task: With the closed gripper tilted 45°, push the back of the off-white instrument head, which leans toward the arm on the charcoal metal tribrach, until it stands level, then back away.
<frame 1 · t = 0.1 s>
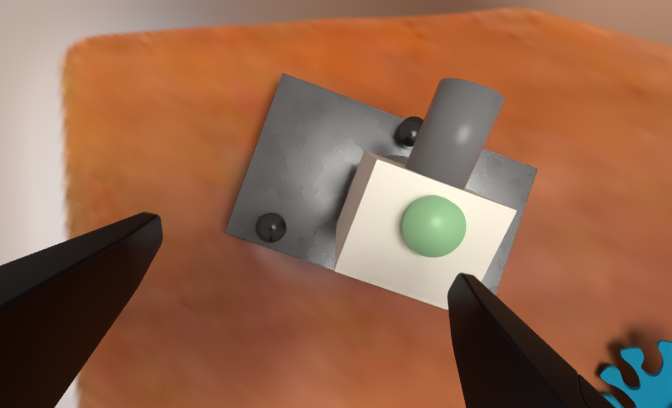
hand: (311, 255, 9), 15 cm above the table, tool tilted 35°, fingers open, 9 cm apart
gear: (632, 390, 26), on the table
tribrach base: (380, 200, 25), on the table
instrument head: (418, 187, 16), point 8 cm above the table, hinge at -14.0°
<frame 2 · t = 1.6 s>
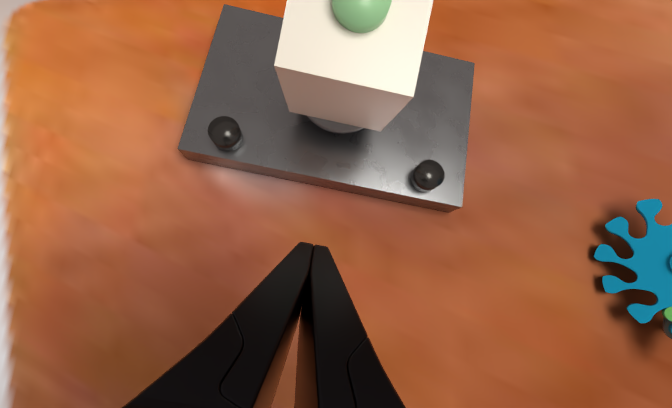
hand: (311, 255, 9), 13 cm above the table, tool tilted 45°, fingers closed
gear: (630, 273, 25), on the table
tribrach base: (336, 115, 25), on the table
instrument head: (354, 29, 17), point 8 cm above the table, hinge at -14.0°
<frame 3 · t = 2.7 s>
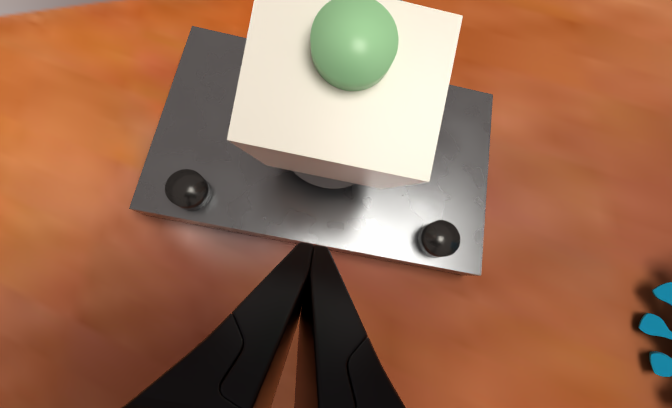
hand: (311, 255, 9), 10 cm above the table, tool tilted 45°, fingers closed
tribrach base: (327, 157, 21), on the table
instrument head: (346, 69, 13), point 8 cm above the table, hinge at -14.0°
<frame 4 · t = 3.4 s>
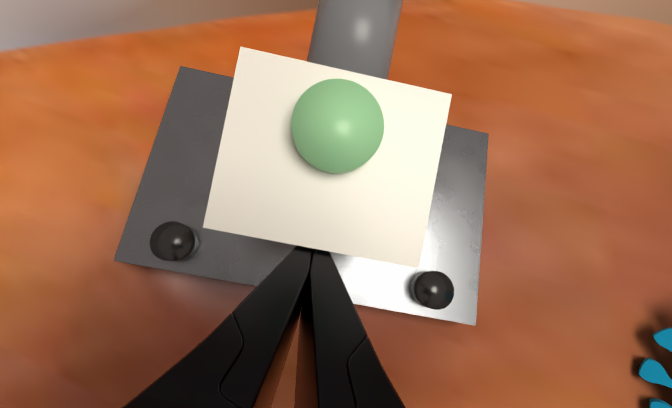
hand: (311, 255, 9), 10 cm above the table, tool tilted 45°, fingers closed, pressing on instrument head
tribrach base: (319, 198, 20), on the table
instrument head: (334, 130, 12), point 8 cm above the table, hinge at -12.1°, touching gripper
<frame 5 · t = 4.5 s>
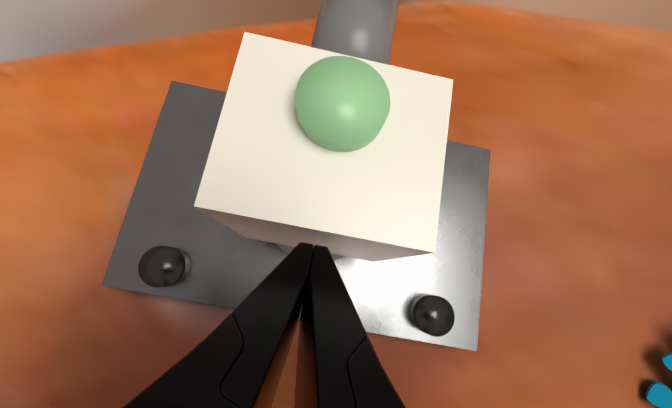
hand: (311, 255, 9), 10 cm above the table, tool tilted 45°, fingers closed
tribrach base: (316, 216, 20), on the table
instrument head: (333, 136, 12), point 8 cm above the table, hinge at -0.3°
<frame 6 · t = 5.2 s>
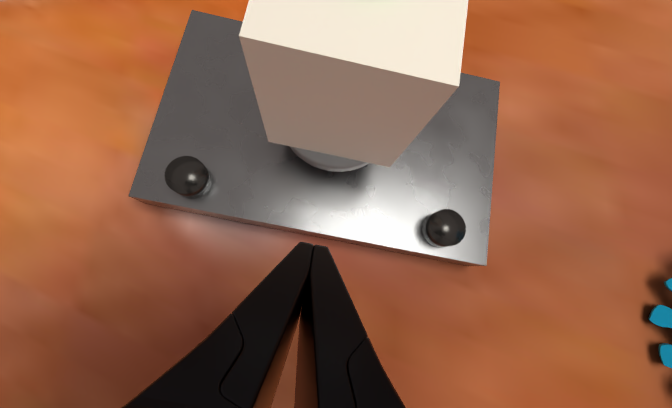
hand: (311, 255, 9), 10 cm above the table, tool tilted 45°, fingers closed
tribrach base: (330, 146, 20), on the table
instrument head: (355, 30, 13), point 8 cm above the table, hinge at -0.3°
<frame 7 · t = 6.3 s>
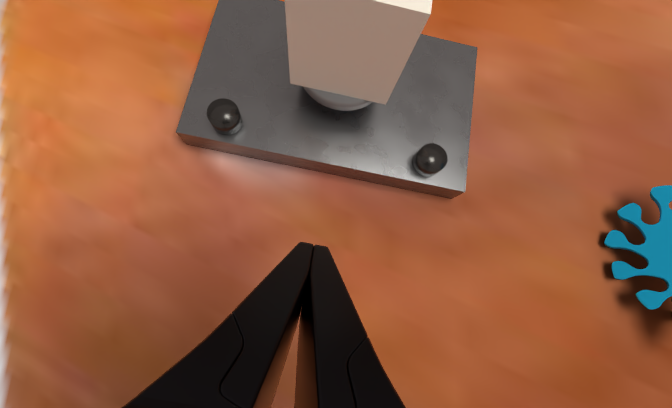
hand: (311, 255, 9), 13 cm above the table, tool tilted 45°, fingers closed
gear: (640, 262, 25), on the table
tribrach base: (337, 100, 25), on the table
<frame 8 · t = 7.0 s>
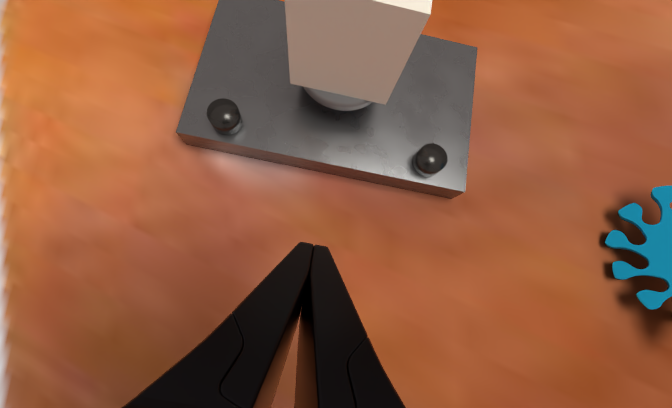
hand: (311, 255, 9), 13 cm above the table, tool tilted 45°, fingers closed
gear: (641, 262, 25), on the table
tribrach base: (337, 100, 25), on the table
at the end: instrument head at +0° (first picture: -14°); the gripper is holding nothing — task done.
